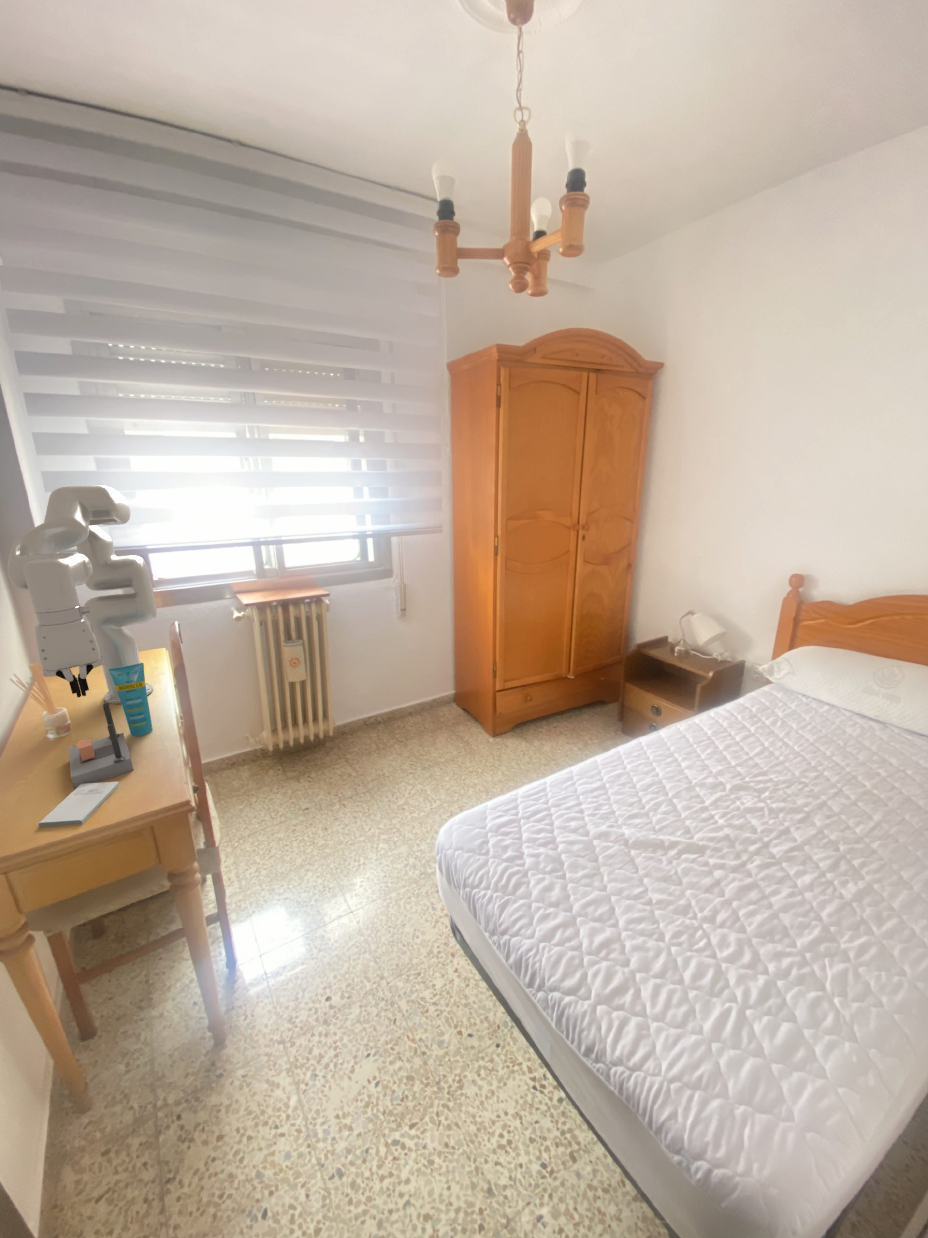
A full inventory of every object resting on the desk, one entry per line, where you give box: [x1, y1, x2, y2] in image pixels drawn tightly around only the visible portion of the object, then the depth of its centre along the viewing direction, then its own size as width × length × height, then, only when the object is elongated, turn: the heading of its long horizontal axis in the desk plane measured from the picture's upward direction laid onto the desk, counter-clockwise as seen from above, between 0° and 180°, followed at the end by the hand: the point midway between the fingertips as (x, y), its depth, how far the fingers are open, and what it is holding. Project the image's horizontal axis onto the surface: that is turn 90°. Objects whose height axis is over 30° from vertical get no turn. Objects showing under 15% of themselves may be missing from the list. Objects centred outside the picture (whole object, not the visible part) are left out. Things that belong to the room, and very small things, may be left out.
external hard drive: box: [37, 781, 120, 828], centre depth 102 cm, size 2×8×12 cm
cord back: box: [102, 702, 117, 733], centre depth 121 cm, size 1×1×8 cm
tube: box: [108, 662, 153, 737], centre depth 127 cm, size 7×5×19 cm, turn 123°
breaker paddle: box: [77, 737, 95, 761], centre depth 114 cm, size 4×2×3 cm, turn 39°
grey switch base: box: [68, 732, 134, 790], centre depth 116 cm, size 16×11×3 cm
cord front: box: [107, 724, 122, 758], centre depth 111 cm, size 1×1×8 cm
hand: (81, 694), depth 110 cm, fingers closed
